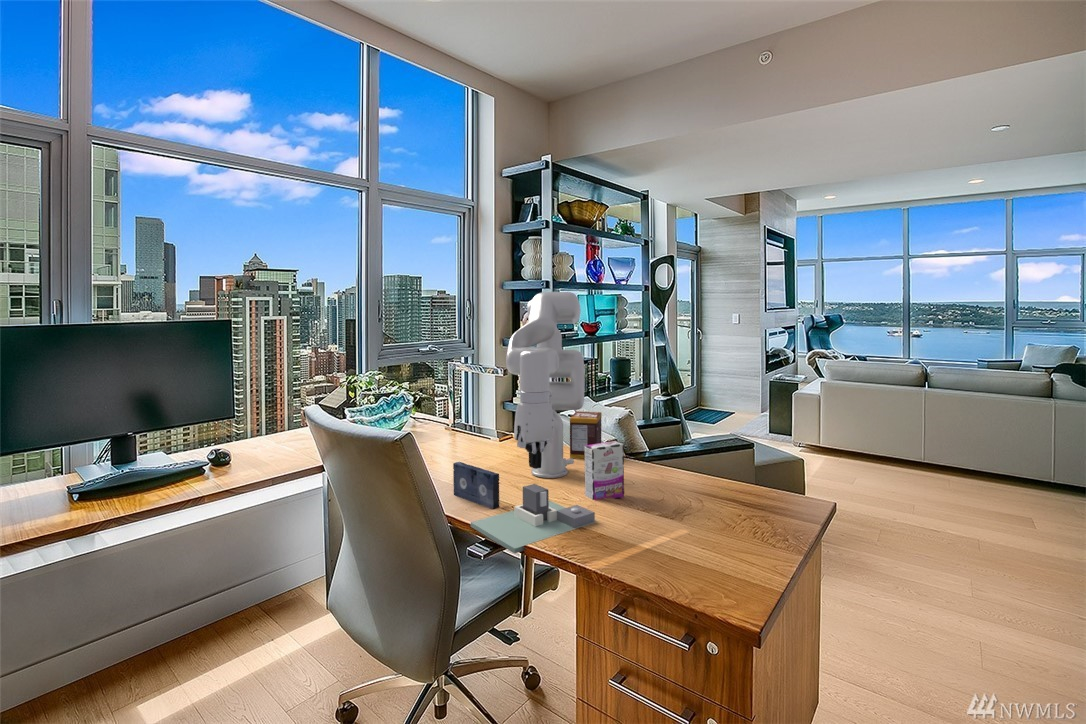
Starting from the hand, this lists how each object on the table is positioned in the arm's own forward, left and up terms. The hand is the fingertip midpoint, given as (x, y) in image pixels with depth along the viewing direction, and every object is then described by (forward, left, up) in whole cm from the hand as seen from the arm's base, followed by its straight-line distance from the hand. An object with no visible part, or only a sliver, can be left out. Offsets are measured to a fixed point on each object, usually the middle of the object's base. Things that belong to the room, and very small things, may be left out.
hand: (535, 467), depth 141 cm
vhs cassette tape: (+4, -24, -15) cm, 29 cm away
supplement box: (-57, -43, -15) cm, 73 cm away
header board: (+2, +2, -15) cm, 15 cm away
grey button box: (-7, +8, -14) cm, 17 cm away
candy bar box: (-27, -2, -15) cm, 31 cm away
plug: (0, 0, -14) cm, 14 cm away
